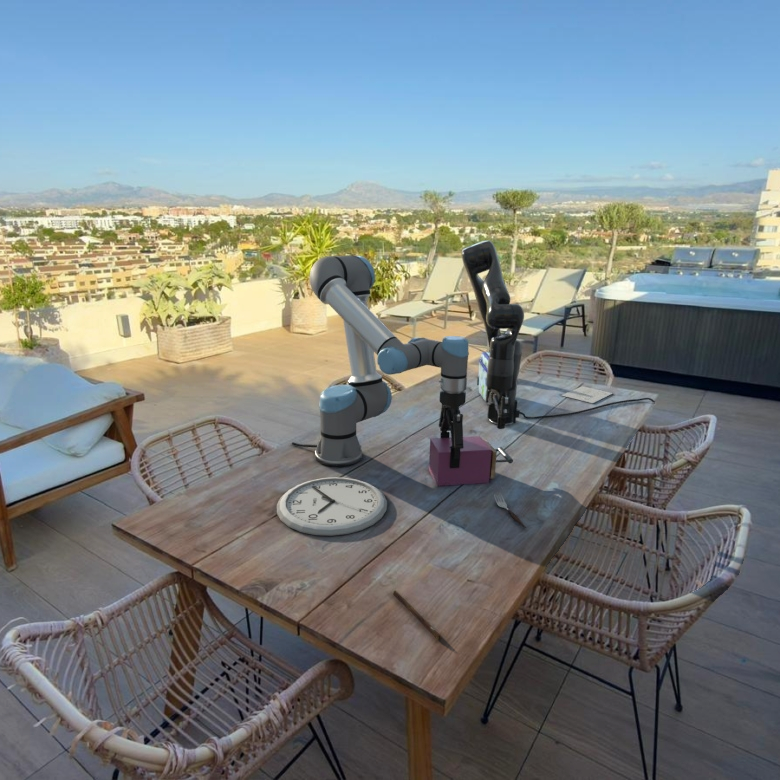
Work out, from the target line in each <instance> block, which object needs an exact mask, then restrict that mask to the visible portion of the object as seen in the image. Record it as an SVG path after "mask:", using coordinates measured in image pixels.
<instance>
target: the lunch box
mask: <svg viewBox="0 0 780 780" xmlns="http://www.w3.org/2000/svg"><path fill="white" fill-rule="evenodd" d="M489 355H490V352H489V351H482V352H481V354H480V358H479V360H478V377H477V381H476V384H477V385H476V386H478V393H479V395H480V396H481V397H482V399H483V400H484V402H485V403H486V392H487V386H486V382H487V369H488V361H489Z"/></svg>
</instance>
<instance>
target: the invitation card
mask: <svg viewBox="0 0 780 780" xmlns="http://www.w3.org/2000/svg"><path fill="white" fill-rule="evenodd" d="M611 395H613V392H611V391H610V392H609V391H605V390H601V389H597V388H592V387H588V386H583V385H582V386H580V387H577V388H575V389H572V390H570V391H568V392H565V393H563V394H561V395H560V396H561V397H565V398H570V399H573V400H577V401H581V402H585V403H589V404H594V403H597V402H599V401H602V400H603V399H605V398H607V397H609V396H611Z"/></svg>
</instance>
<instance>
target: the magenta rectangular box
mask: <svg viewBox="0 0 780 780" xmlns="http://www.w3.org/2000/svg"><path fill="white" fill-rule="evenodd" d="M484 440H485V439H483V438H482V437H481V436H480V435H475V436H463V446H464V447H463V449H460V464H459V468H450V453H451V449H450V446H452V441H451V437H449V438H440V437H435V438H429V457H428V458H429V461H428V471H429V473H430V476H431V477H432V479H433V481H434V483H435V484H436V486H437V487H443V486H457V485H459V486H460V485H473V484H474V485H476V484H489V483H490V477H489V476H490V464H491V451H492V450H491V448H490V447H489V446H488V445H487V444H486V443H485V442H484Z"/></svg>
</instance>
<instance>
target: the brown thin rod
mask: <svg viewBox="0 0 780 780" xmlns="http://www.w3.org/2000/svg"><path fill="white" fill-rule="evenodd" d="M392 595H393V596H394V597H395V598H396V599H397V600H398V601H399V602H400V603H401V604H402V605H403V606H404V607H405V608H406V609H407V610H408V612H410V613H411V614H412V615H413V616H414V618H416V619H417V620H418V621H419V622H420V623H421V624H422V625H423V626H424V628H426V629H427V630H428V631H429V633H430V634H431V635H432V636H433V637H434V638H435V639H436V640H437V641H439V640H441V635H440V634H439V633H438V631H436V629H435V628H434V627H433V626H432V625H431V624H430V623H429V622H428V621H427V620H426V619H425V618H424V617H423V616H422V615H421V614H420V613H419V612H418V611H417V610H416V609H415V608H414V607H413V606H412V605H411V604H410V603H409V602H408V601H407V600H406V599H405V598H404V597H403V596H402V595H401V593H399V592H398V591H397V590H394V591H393V593H392Z"/></svg>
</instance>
